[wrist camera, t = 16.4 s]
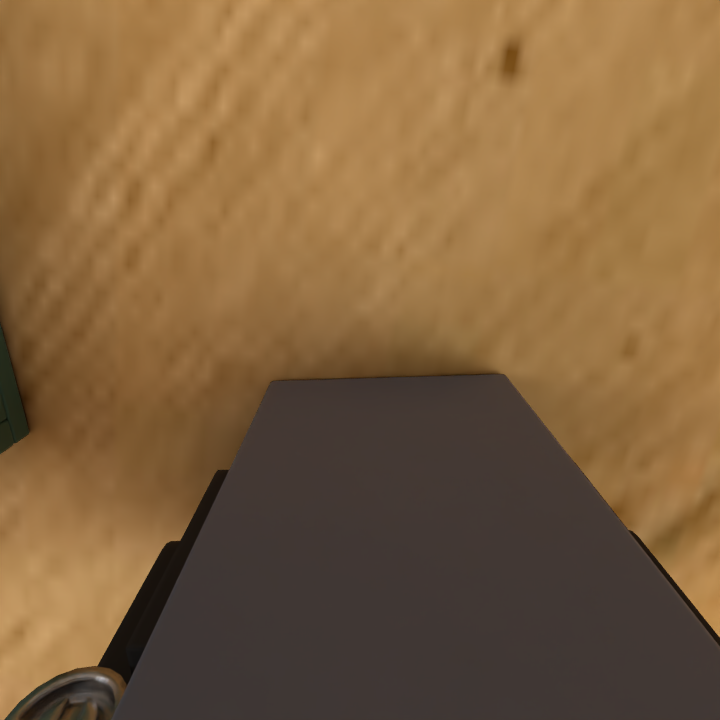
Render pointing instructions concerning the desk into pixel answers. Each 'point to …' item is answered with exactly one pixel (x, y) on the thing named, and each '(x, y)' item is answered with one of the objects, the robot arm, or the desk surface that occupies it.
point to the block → (417, 574)
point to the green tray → (9, 403)
